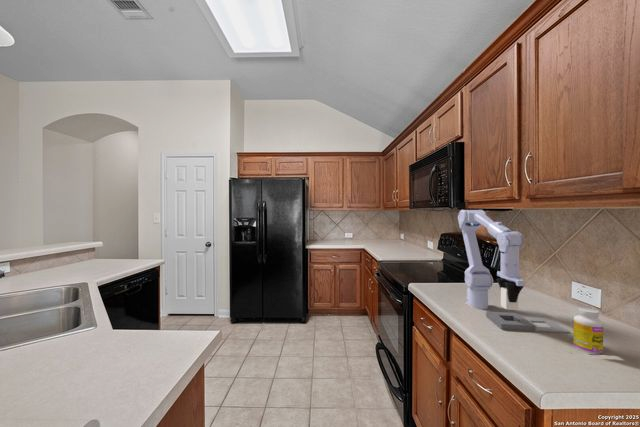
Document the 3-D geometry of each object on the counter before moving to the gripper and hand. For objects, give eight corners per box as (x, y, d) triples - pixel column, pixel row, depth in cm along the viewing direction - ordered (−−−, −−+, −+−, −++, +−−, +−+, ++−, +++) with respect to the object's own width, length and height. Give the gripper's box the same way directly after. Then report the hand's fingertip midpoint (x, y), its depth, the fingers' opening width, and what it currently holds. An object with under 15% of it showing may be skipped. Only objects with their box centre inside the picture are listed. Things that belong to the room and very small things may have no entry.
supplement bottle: (593, 357, 81) (593, 314, 81) (567, 347, 88) (568, 306, 87) (608, 354, 83) (609, 312, 83) (582, 344, 89) (583, 304, 89)
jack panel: (486, 318, 110) (486, 311, 110) (546, 321, 107) (546, 314, 107) (501, 332, 98) (501, 323, 98) (570, 336, 95) (570, 327, 95)
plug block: (500, 305, 105) (500, 284, 105) (512, 306, 105) (512, 285, 105) (506, 309, 101) (506, 287, 101) (518, 309, 101) (518, 288, 101)
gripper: (533, 268, 95) (533, 307, 95) (510, 260, 109) (510, 294, 110) (511, 267, 96) (510, 306, 96) (491, 260, 110) (491, 293, 111)
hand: (509, 300), depth 103 cm, fingers closed on plug block, 4 cm apart
